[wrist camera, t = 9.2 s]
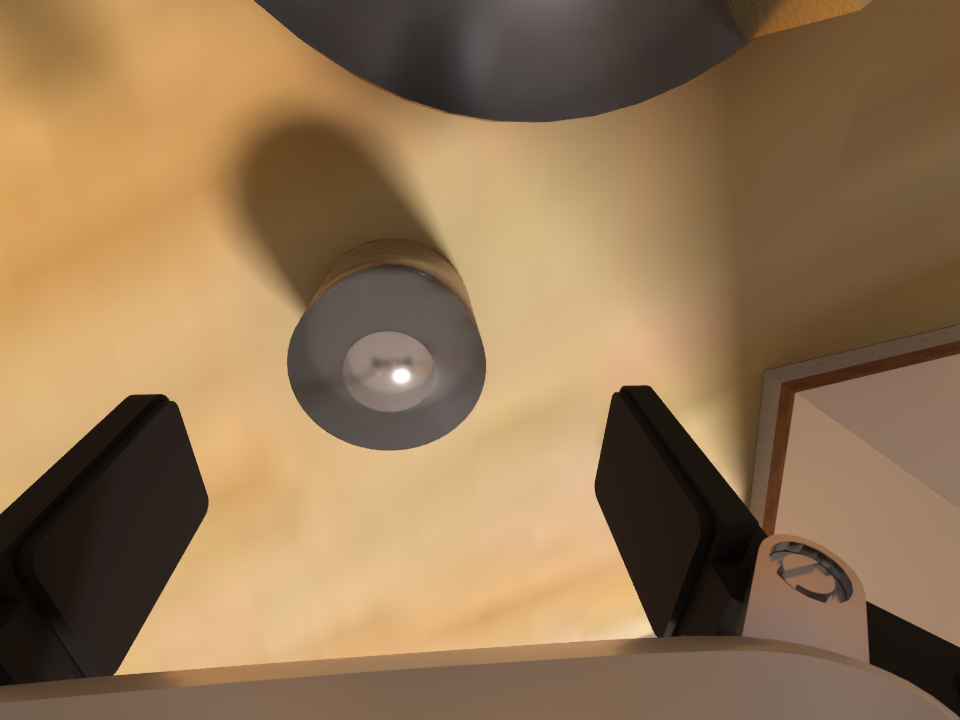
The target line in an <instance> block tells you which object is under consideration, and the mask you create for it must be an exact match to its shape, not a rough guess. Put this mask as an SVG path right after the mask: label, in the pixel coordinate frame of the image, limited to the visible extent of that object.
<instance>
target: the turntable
mask: <svg viewBox="0 0 960 720" xmlns="http://www.w3.org/2000/svg"><path fill="white" fill-rule="evenodd" d="M254 1H255V2H256V3H258V4H259V5H260V6H261V7H262V8H264V9H265V10H266V11H267V12H268V13H270V14H271V15H272V16H273V17H274V18H276V19H277V20H278V21H279V22H280V23H282V24H283V25H284V26H285V27H286V28H288V29H289V30H290V31H291V32H292V33H294V34H295V35H296V36H297V37H298V38H300V39H301V40H302V41H304V42H305V43H307V44H308V45H309V46H311V47H312V48H313V49H315V50H316V51H318V52H319V53H321V54H322V55H324V56H326V57H327V58H329V59H330V60H332V61H333V62H335V63H336V64H338V65H339V66H341V67H342V68H344V69H345V70H347V71H349V72H350V73H352V74H353V75H355V76H356V77H358V78H359V79H361V80H363V81H365V82H367V83H370V84H372V85H374V86H376V87H378V88H380V89H382V90H384V91H386V92H388V93H390V94H392V95H394V96H396V97H398V98H400V99H403V100H405V101H408V102H411V103H414V104H417V105H421V106H424V107H427V108H430V109H433V110H436V111H439V112H442V113H445V114H449V115H455V116H461V117H467V118H473V119H479V120H484V121H492V122H551V121H558V120H566V119H574V118H582V117H589V116H595V115H599V114H602V113H606V112H610V111H613V110H617V109H620V108H624V107H627V106H631V105H634V104H638V103H641V102H643V101H646V100H648V99H650V98H653V97H655V96H657V95H659V94H662V93H664V92H666V91H669V90H671V89H673V88H675V87H678V86H680V85H682V84H685V83H687V82H688V81H690V80H692V79H693V78H695V77H697V76H698V75H700V74H702V73H703V72H705V71H707V70H708V69H710V68H712V67H713V66H715V65H717V64H718V63H720V62H722V61H723V60H725V59H727V58H728V57H730V56H732V55H733V54H734V53H735V52H737V51H738V50H739V49H741V48H742V47H743V46H745V45H746V44H747V43H748V42H750V41H751V40H752V39H754V38H756V37H760V36H764V35H767V34H771V33H775V32H779V31H783V30H787V29H790V28H794V27H798V26H802V25H806V24H810V23H814V22H817V21H821V20H825V19H829V18H833V17H837V16H841V15H844V14H848V13H852V12H856V11H860V10H861V9H863V8H864V7H865V6H866V5H867V4H869V3H870V2H871V1H872V0H254Z"/></svg>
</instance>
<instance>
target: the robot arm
mask: <svg viewBox="0 0 960 720" xmlns="http://www.w3.org/2000/svg"><path fill="white" fill-rule="evenodd" d="M595 494H596V497H597V500H598V502H599V505H600V507H601V510H602V512H603V514H604V517H605V519H606V521H607V524H608V526H609V528H610V531H611V533H612V535H613V538H614V540H615V542H616V545H617V547H618V549H619V552H620V554H621V557H622V559H623V561H624V564H625V566H626V568H627V571H628V573H629V575H630V578H631V580H632V582H633V585H634V587H635V589H636V592H637V594H638V596H639V599H640V601H641V604H642V606H643V608H644V611H645V613H646V615H647V618H648V620H649V622H650V625H651V627H652V629H653V631H654V633H655V635H656V636H657V637H658V638H639V639H619V640H599V641H584V642H569V643H554V644H539V645H524V646H509V647H494V648H479V649H464V650H450V651H436V652H422V653H408V654H394V655H380V656H366V657H352V658H339V659H325V660H311V661H298V662H284V663H270V664H257V665H244V666H232V667H219V668H206V669H193V670H180V671H167V672H155V673H142V674H129V675H116V676H113V675H114V674H115V673H116V671H117V670H118V668H119V667H120V665H121V663H122V661H123V660H124V658H125V656H126V654H127V653H128V651H129V649H130V647H131V646H132V644H133V642H134V640H135V638H136V637H137V635H138V633H139V631H140V630H141V628H142V626H143V624H144V623H145V621H146V619H147V617H148V616H149V614H150V612H151V610H152V608H153V607H154V605H155V603H156V601H157V600H158V598H159V596H160V594H161V593H162V591H163V589H164V587H165V586H166V584H167V582H168V580H169V578H170V577H171V575H172V573H173V571H174V570H175V568H176V566H177V564H178V563H179V561H180V559H181V557H182V556H183V554H184V552H185V550H186V549H187V547H188V545H189V543H190V541H191V540H192V538H193V536H194V534H195V533H196V531H197V529H198V527H199V526H200V524H201V522H202V520H203V519H204V517H205V515H206V513H207V509H208V495H207V492H206V489H205V486H204V483H203V480H202V477H201V474H200V471H199V468H198V465H197V462H196V459H195V456H194V453H193V450H192V447H191V444H190V441H189V438H188V435H187V431H186V428H185V425H184V422H183V419H182V416H181V413H180V410H179V407H178V405H177V404H176V403H175V402H174V401H169V399H168V398H167V397H166V396H165V395H163V394H148V395H130V396H128V397H127V398H125V399H124V400H123V401H122V402H121V403H120V404H119V405H118V406H117V407H116V408H115V409H114V410H113V411H111V412H110V413H109V414H108V415H107V416H106V417H105V418H104V419H103V420H102V421H101V422H100V423H98V424H97V425H96V426H95V427H94V428H93V429H92V430H91V431H90V432H89V433H88V434H87V435H86V436H84V437H83V438H82V439H81V440H80V441H79V442H78V443H77V444H76V445H75V446H74V447H73V448H71V449H70V450H69V451H68V452H67V453H66V454H65V455H64V456H63V457H62V458H61V459H60V460H59V461H57V462H56V463H55V464H54V465H53V466H52V467H51V468H50V469H49V470H48V471H47V472H46V473H45V474H43V475H42V476H41V477H40V478H39V479H38V480H37V481H36V482H35V483H34V484H33V485H32V486H30V487H29V488H28V489H27V490H26V491H25V492H24V493H23V494H22V495H21V496H20V497H19V498H18V499H16V500H15V501H14V502H13V503H12V504H11V505H10V506H9V507H8V508H7V509H6V510H5V511H3V512H2V513H1V514H0V720H960V647H958V646H956V645H954V644H952V643H950V642H948V641H946V640H944V639H942V638H940V637H938V636H936V635H934V634H932V633H930V632H928V631H926V630H924V629H922V628H920V627H918V626H916V625H914V624H912V623H910V622H908V621H906V620H904V619H902V618H900V617H898V616H896V615H894V614H892V613H890V612H888V611H886V610H884V609H882V608H880V607H878V606H876V605H874V604H872V603H870V602H868V601H866V595H865V591H864V588H863V584H862V582H861V581H860V579H859V578H858V576H857V575H856V573H855V572H854V570H853V569H852V568H851V567H850V566H849V565H848V564H847V563H846V562H844V561H843V560H842V559H841V558H840V557H839V556H837V555H836V554H834V553H833V552H831V551H830V550H829V549H827V548H825V547H823V546H821V545H819V544H817V543H815V542H813V541H811V540H808V539H805V538H802V537H799V536H795V535H787V534H778V535H771V536H769V537H768V536H767V534H766V533H765V532H764V531H763V529H762V528H761V527H760V526H759V522H758V521H757V519H756V518H755V517H754V516H753V514H752V513H751V512H750V511H749V509H748V508H747V507H746V506H745V504H744V503H743V502H742V501H741V499H740V498H739V497H738V496H737V494H736V493H735V492H734V491H733V489H732V488H731V487H730V486H729V484H728V483H727V482H726V481H725V479H724V478H723V477H722V476H721V474H720V473H719V472H718V471H717V469H716V468H715V467H714V466H713V464H712V463H711V462H710V461H709V459H708V458H707V457H706V455H705V454H704V453H703V452H702V450H701V449H700V448H699V447H698V445H697V444H696V443H695V442H694V440H693V439H692V438H691V437H690V435H689V434H688V433H687V432H686V430H685V429H684V428H683V427H682V425H681V424H680V423H679V422H678V420H677V419H676V418H675V417H674V415H673V414H672V413H671V412H670V410H669V409H668V408H667V407H666V405H665V404H664V403H663V402H662V400H661V399H660V398H659V397H658V395H657V394H656V393H655V391H654V390H653V389H652V388H651V387H650V386H647V385H642V386H623V387H622V388H621V389H620V392H615V393H614V394H613V395H612V399H611V404H610V409H609V414H608V419H607V424H606V429H605V434H604V439H603V444H602V449H601V454H600V459H599V464H598V469H597V474H596V479H595Z"/></svg>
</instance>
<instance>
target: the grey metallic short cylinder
mask: <svg viewBox="0 0 960 720" xmlns="http://www.w3.org/2000/svg"><path fill="white" fill-rule="evenodd" d="M287 367H288V376H289V380H290V384H291V387H292V390H293V392H294V394H295V397H296V399H297V400H298V402H299V404H300V405H301V407H302V408H303V410H304V411H305V412H306V413H307V415H308V416H309V417H310V418H311V419H312V420H313V421H314V422H315V423H316V424H317V425H319V426H320V427H321V428H322V429H324V430H325V431H326V432H328V433H330V434H331V435H333V436H335V437H336V438H338V439H341V440H343V441H345V442H347V443H350V444H353V445H356V446H359V447H364V448H368V449H375V450H404V449H410V448H415V447H419V446H422V445H425V444H428V443H431V442H433V441H435V440H437V439H440V438H441V437H443V436H445V435H446V434H448V433H449V432H451V431H452V430H453V429H455V428H456V427H457V426H458V425H459V424H460V423H462V422H463V421H464V420H465V419H466V417H467V416H468V415H469V414H470V412H471V411H472V410H473V408H474V406H475V405H476V403H477V401H478V399H479V397H480V394H481V392H482V389H483V385H484V381H485V374H486V358H485V352H484V347H483V344H482V340H481V337H480V333H479V330H478V326H477V323H476V320H475V316H474V313H473V309H472V306H471V302H470V299H469V296H468V293H467V290H466V287H465V284H464V282H463V280H462V278H461V277H460V275H459V274H458V272H457V271H456V269H455V268H454V267H453V266H452V265H451V264H450V263H449V262H448V261H447V260H446V259H445V258H444V257H443V256H442V255H440V254H439V253H437V252H436V251H434V250H432V249H430V248H428V247H426V246H424V245H422V244H419V243H416V242H412V241H407V240H401V239H382V240H377V241H372V242H369V243H366V244H363V245H360V246H358V247H356V248H354V249H352V250H351V251H349V252H348V253H347V254H345V255H344V256H343V257H342V258H341V259H339V260H338V261H337V262H336V264H335V265H334V266H333V267H332V269H331V270H330V271H329V273H328V275H327V276H326V278H325V280H324V281H323V283H322V285H321V286H320V288H319V289H318V291H317V293H316V294H315V296H314V298H313V299H312V301H311V303H310V304H309V306H308V308H307V309H306V311H305V313H304V314H303V316H302V317H301V319H300V321H299V323H298V324H297V326H296V328H295V330H294V332H293V335H292V337H291V340H290V344H289V349H288V357H287Z"/></svg>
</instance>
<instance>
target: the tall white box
mask: <svg viewBox="0 0 960 720" xmlns="http://www.w3.org/2000/svg"><path fill="white" fill-rule="evenodd" d="M749 511H750V512H751V513H752V514H753V516H754V517H755V518H756V519H757V521H758V522H759V526H760V527H761V528H762V529H763V531H764V532H765V533H766V534H767V536H768V537H769V536H771V535H778V534H787V535H795V536H799V537H802V538H805V539H808V540H811V541H813V542H815V543H817V544H819V545H821V546H823V547H825V548H827V549H829V550H830V551H831V552H833V553H834V554H836V555H837V556H839V557H840V558H841V559H842V560H843V561H844V562H846V563H847V564H848V565H849V566H850V567H851V568H852V569H853V570H854V572H855V573H856V575H857V576H858V578H859V579H860V581H861V582H862V584H863V588H864V591H865V595H866V601H868V602H870V603H872V604H874V605H876V606H878V607H880V608H882V609H884V610H886V611H888V612H890V613H892V614H894V615H896V616H898V617H900V618H902V619H904V620H906V621H908V622H910V623H912V624H914V625H916V626H918V627H920V628H922V629H924V630H926V631H928V632H930V633H932V634H934V635H936V636H938V637H940V638H942V639H944V640H946V641H948V642H950V643H952V644H954V645H956V646H958V647H960V325H956V326H952V327H947V328H943V329H939V330H935V331H930V332H926V333H922V334H918V335H913V336H909V337H905V338H901V339H897V340H892V341H888V342H884V343H880V344H875V345H871V346H867V347H863V348H858V349H854V350H850V351H846V352H842V353H837V354H833V355H829V356H825V357H820V358H816V359H812V360H808V361H803V362H799V363H795V364H791V365H787V366H782V367H778V368H774V369H770V370H765V371H764V380H763V389H762V398H761V407H760V416H759V425H758V434H757V443H756V452H755V461H754V470H753V479H752V488H751V498H750V507H749Z"/></svg>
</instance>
